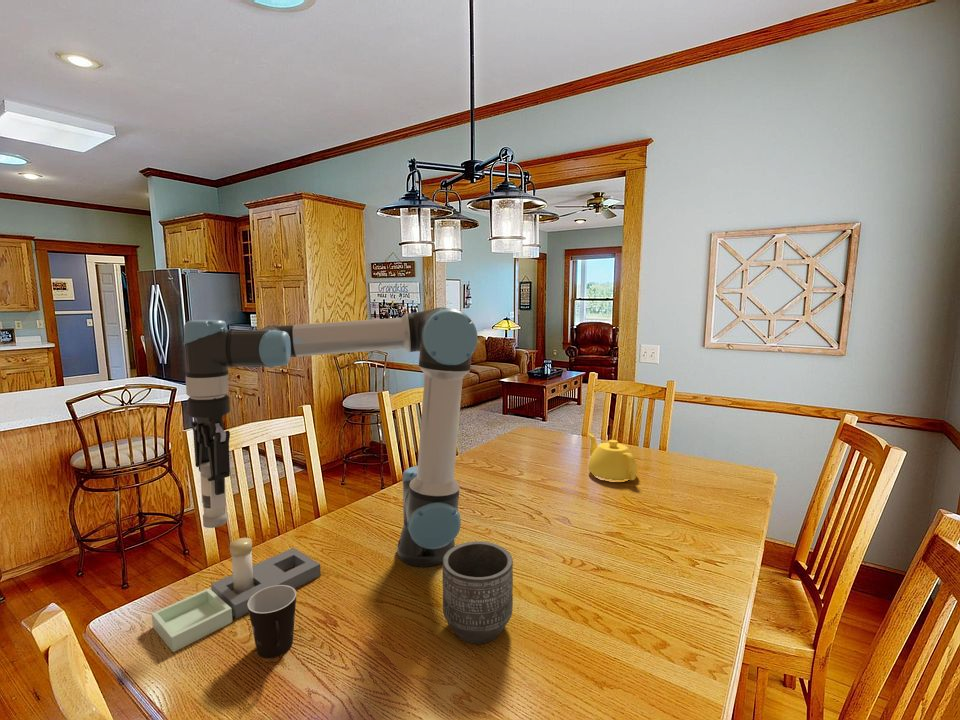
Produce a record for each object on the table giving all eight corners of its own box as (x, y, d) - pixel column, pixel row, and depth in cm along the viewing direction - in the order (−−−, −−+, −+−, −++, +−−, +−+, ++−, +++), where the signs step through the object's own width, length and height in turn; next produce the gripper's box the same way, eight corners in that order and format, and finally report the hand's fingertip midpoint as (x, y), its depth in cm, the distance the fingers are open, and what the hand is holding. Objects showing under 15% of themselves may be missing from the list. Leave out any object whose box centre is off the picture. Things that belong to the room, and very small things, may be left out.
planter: (457, 661, 89) (457, 587, 87) (433, 614, 101) (432, 549, 99) (524, 639, 94) (526, 569, 92) (494, 598, 107) (494, 535, 105)
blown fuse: (230, 522, 101) (227, 463, 100) (208, 530, 98) (204, 469, 96) (221, 516, 104) (219, 458, 102) (199, 523, 101) (196, 463, 99)
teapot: (570, 468, 188) (571, 434, 186) (604, 461, 196) (605, 428, 195) (615, 490, 166) (617, 453, 165) (652, 481, 175) (654, 445, 173)
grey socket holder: (320, 575, 116) (318, 524, 114) (236, 618, 100) (232, 560, 99) (294, 558, 123) (291, 510, 121) (211, 596, 108) (207, 542, 106)
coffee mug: (260, 631, 96) (257, 586, 95) (304, 629, 97) (301, 583, 96) (236, 677, 85) (232, 626, 83) (286, 674, 86) (283, 623, 84)
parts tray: (232, 622, 99) (231, 608, 99) (173, 652, 91) (171, 637, 90) (210, 600, 106) (209, 587, 106) (152, 627, 98) (151, 613, 97)
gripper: (245, 399, 95) (250, 511, 98) (211, 387, 106) (216, 488, 109) (205, 405, 89) (211, 523, 92) (173, 392, 100) (179, 498, 103)
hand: (214, 504), depth 100 cm, fingers closed on blown fuse, 4 cm apart
